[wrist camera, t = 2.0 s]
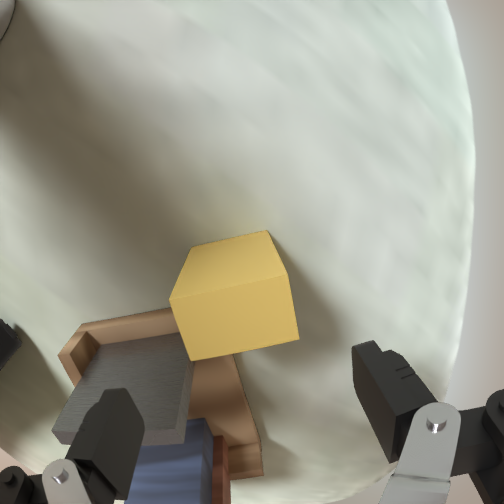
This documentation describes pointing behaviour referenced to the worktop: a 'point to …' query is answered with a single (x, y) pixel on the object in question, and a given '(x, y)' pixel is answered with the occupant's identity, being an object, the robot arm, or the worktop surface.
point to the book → (233, 297)
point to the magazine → (7, 343)
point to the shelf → (198, 420)
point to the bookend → (137, 387)
